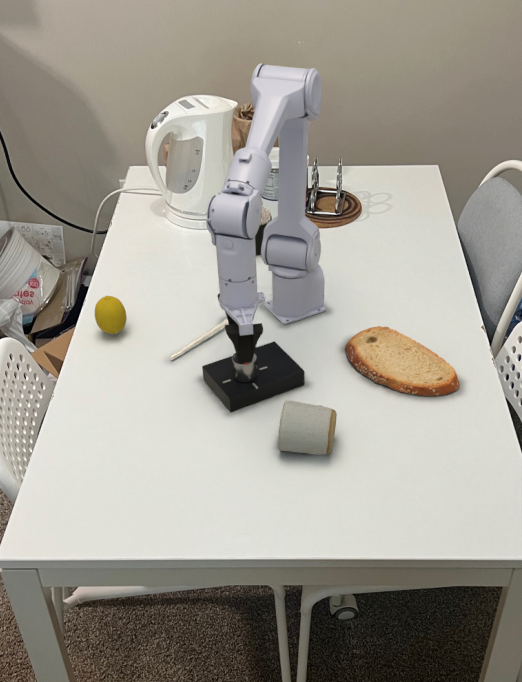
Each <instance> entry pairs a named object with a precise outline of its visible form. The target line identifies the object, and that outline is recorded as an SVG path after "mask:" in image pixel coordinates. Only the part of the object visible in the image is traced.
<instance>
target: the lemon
mask: <svg viewBox="0 0 522 682" xmlns="http://www.w3.org/2000/svg"><path fill="white" fill-rule="evenodd" d="M94 307H95V308H94V319H95V322H96V325H97V327H98V328H99V329H100V330H101V331H102V332H104V333H105V334H110V335H116V334H117V333H119V332H121V331H122V330H123V329H124V328H125V326H126V325H127V319H128V318H127V312H126V311H127V310H126V308H125V306H124V305H123V303H122V301H121V300H120V299H119V298H117V297H115V296H113V295H105V296H102V297H101V298H100V299H98V301H97V302H96V304H95V306H94Z"/></svg>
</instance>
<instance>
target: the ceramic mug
mask: <svg viewBox="0 0 522 682" xmlns="http://www.w3.org/2000/svg"><path fill="white" fill-rule="evenodd" d="M337 416H338V415H337V412H336V410H335V409H333V408H331V407H328V406H324V405H319V404H318V405H317V404H311V403H305V402H300V401H294V400H288V399H287V400H285V401H284V402H283V405H282V409H281V414H280V418H279V426H278V437H277V448H278V450H279V451H281V452H290V453H299V454H308V455H317V456H323V455H325V456H326V455H329V454H330V453H332V452H333V447H334V441H335V435H336V427H337V418H338V417H337Z"/></svg>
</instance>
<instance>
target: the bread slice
mask: <svg viewBox="0 0 522 682" xmlns="http://www.w3.org/2000/svg"><path fill="white" fill-rule="evenodd" d="M344 351H345V352H346V355H347V359H348V361H349V362H350V363H351V365H352V366H353V367H354V368H355V370H357V371H358V372H360V373H361V374H362V375H363V376H365V377H366V378H368V379H369V380H371V381H373V382H374V383H376V384H379V385H383V386H386V387H388V388H389V389H391V390H393V391H396V392H399V393H403V394H409V395H412V396H413V395H414V396H420V397H438V396H445V395H449V394H451V393H453V392H457V390H458V389H459V387H460V380H459V378H458V374H457V371H456V370H455V368H454V367H453V366H452V365H451V364H450V363H448V361H446V359H444V358H442V356H441V357H440V356H439V355H438V353H436V352H434V351H432V350H431V349H430V348H428V347H427V346H425V345H423V344H421V343H420V342H417V341H416V340H415V339H412V338H411V337H409V336H407V335H405V334H404V333H401V332H399V331H397V330H396V329H393V328H390V327H389V326H380V325H379V326H373V327H369V328H366V329H363V330H360V331H359V332H357V333H356V334H354V335H353V336H352V337H351V338H350V339H349V340H348V341H347V343H346V344H345V346H344Z"/></svg>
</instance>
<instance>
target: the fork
mask: <svg viewBox="0 0 522 682" xmlns="http://www.w3.org/2000/svg"><path fill="white" fill-rule="evenodd" d="M225 325H229V323H228V319H227V318H225V319H223V320H222V321H221V322H220V323H218V324H217V325H216V326H214V327H213V328H211V329H209V330H208V331H206V332H205V333H203V334H202V335H200V336H199V337H197V338H196V339H194V340H192V341H191V342H190V343H188V344H187V345H185V346H184V347H182V348H181V349H179V350H177V351H176V352H174V353H173V354H172V355H170V356H169V360H171V361H173V360H175V359H177V358H178V357H180V356H182V355H183V354H185V353H186V352H188V351H190V350H192V349H193V348H194V347H196V346H197V345H199V344H201V343H202V342H204V341H206V340H207V339H208V338H211V337H212V336H214V335H215V334H217V333H219V332H220V331H221V330H223V329H225Z"/></svg>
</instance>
